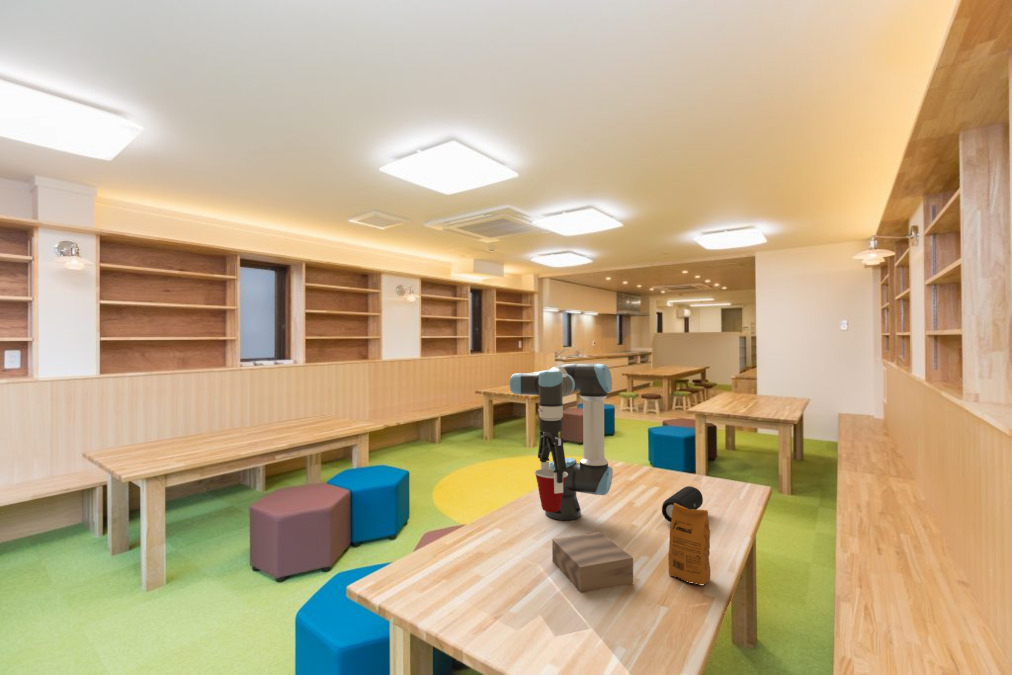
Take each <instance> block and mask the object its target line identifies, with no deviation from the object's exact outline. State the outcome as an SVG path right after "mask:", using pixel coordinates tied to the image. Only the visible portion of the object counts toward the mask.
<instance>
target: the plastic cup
mask: <svg viewBox="0 0 1012 675" xmlns="http://www.w3.org/2000/svg"><path fill="white" fill-rule="evenodd" d="M554 470H555V469H541V468H540V469H537V470H534V474H535V477H536V483H537V487H538V494H539V499H540V505H541V509H542V510H543V511H544V512H545V511H546V512H557V511H559V510H560V507H561V500H562V496H563V493H556V494H555V493H554V472H553V471H554ZM567 476H568V473H567V472H563V489H564V484H565V480H566V477H567Z"/></svg>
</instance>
